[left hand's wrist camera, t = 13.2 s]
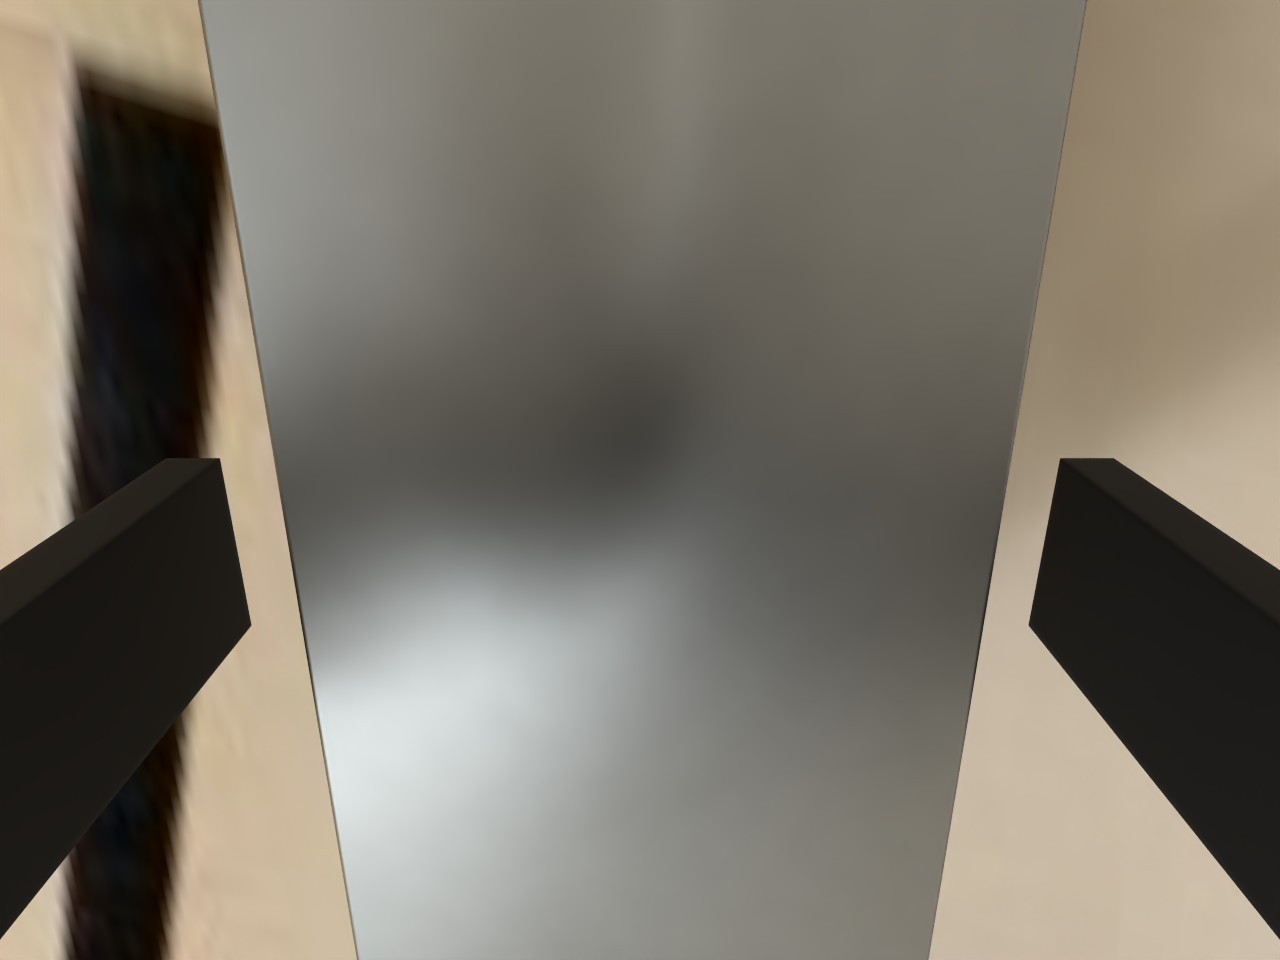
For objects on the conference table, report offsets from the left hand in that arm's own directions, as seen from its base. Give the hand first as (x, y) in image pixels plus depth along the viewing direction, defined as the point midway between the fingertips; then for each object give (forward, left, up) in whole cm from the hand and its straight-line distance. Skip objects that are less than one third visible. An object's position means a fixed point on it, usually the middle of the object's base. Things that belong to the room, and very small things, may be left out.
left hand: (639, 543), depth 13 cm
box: (+6, -5, -4) cm, 9 cm away
